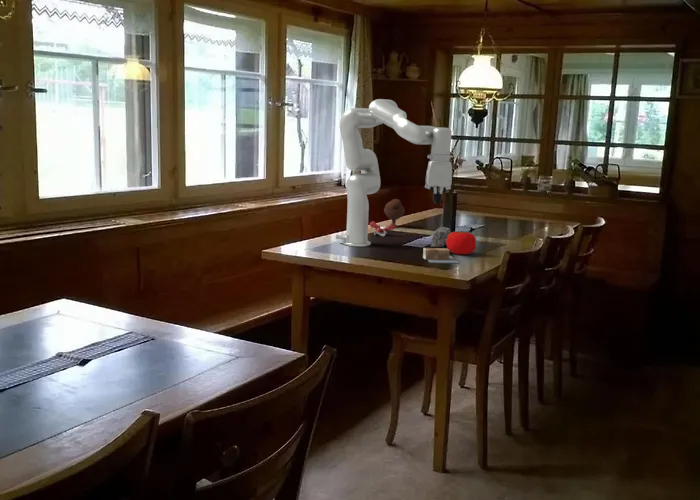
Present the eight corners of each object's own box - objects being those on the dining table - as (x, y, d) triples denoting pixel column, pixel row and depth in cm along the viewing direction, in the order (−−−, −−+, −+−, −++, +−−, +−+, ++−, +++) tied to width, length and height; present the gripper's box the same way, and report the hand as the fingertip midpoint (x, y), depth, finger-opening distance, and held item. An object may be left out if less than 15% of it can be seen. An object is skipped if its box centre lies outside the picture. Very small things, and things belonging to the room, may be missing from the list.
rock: (437, 248, 326) (441, 226, 326) (421, 245, 331) (425, 223, 330) (453, 250, 340) (456, 228, 339) (437, 247, 344) (440, 226, 343)
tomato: (475, 257, 313) (476, 233, 311) (445, 255, 315) (446, 231, 313) (475, 252, 323) (477, 229, 321) (446, 250, 325) (447, 227, 323)
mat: (430, 263, 297) (430, 262, 297) (422, 255, 311) (422, 255, 311) (459, 263, 299) (459, 262, 299) (450, 256, 312) (450, 255, 312)
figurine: (360, 234, 356) (361, 221, 355) (372, 231, 366) (373, 218, 365) (388, 238, 348) (388, 224, 347) (399, 235, 358) (400, 222, 357)
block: (425, 249, 301) (449, 250, 302) (423, 247, 305) (447, 248, 306) (425, 259, 302) (448, 259, 303) (422, 257, 306) (446, 257, 307)
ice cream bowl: (407, 227, 384) (409, 198, 381) (397, 229, 375) (398, 200, 372) (389, 225, 389) (391, 196, 386) (379, 227, 380) (380, 198, 377)
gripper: (424, 158, 295) (420, 203, 298) (460, 160, 297) (456, 205, 300) (420, 156, 302) (416, 201, 306) (455, 158, 304) (451, 202, 308)
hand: (436, 203), depth 303 cm, fingers closed
